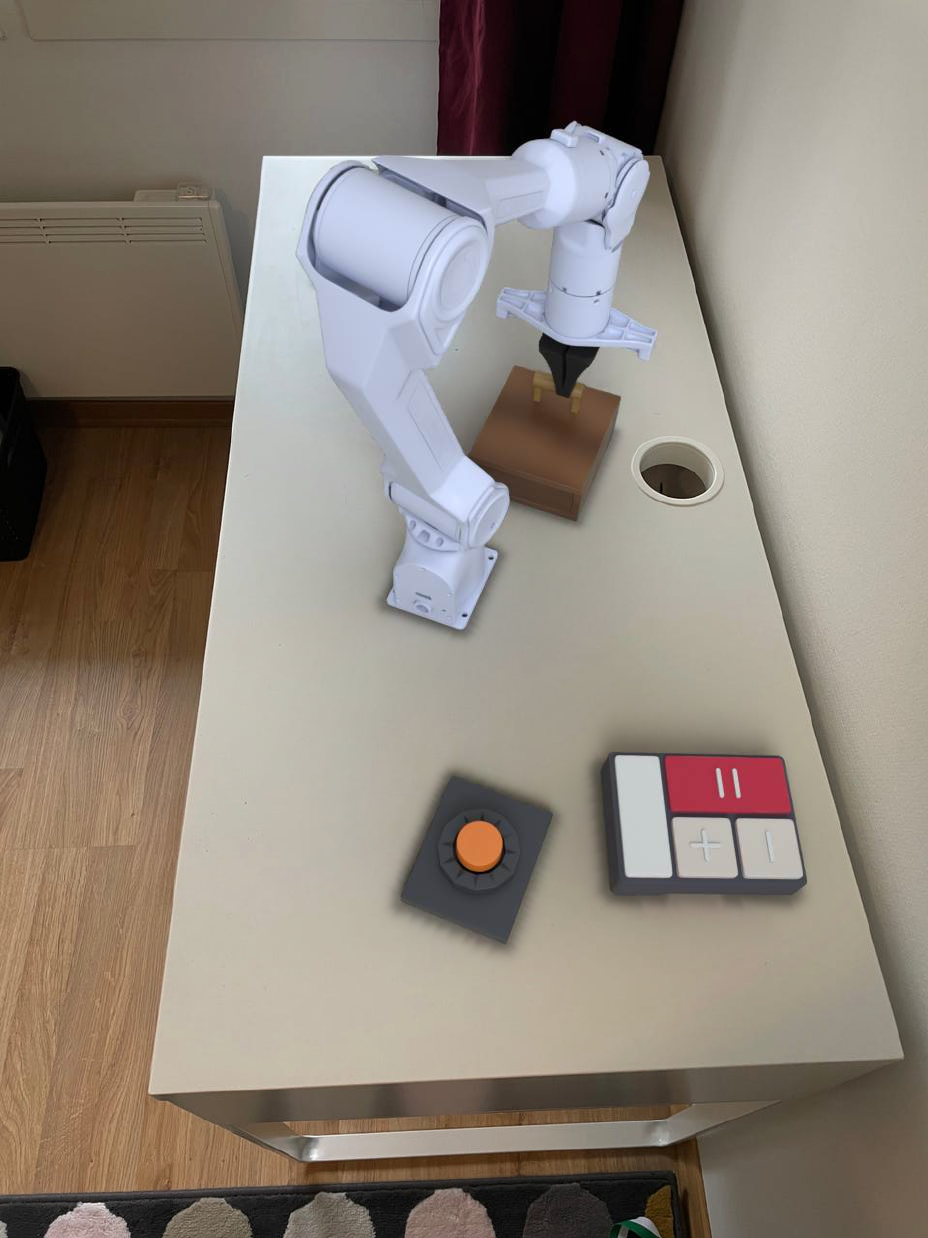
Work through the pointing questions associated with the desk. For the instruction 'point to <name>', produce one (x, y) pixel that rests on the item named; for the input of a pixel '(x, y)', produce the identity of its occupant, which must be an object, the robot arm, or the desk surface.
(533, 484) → the compartment
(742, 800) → the control panel
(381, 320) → the robot arm
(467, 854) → the button
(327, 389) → the desk surface
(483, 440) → the lid
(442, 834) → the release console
